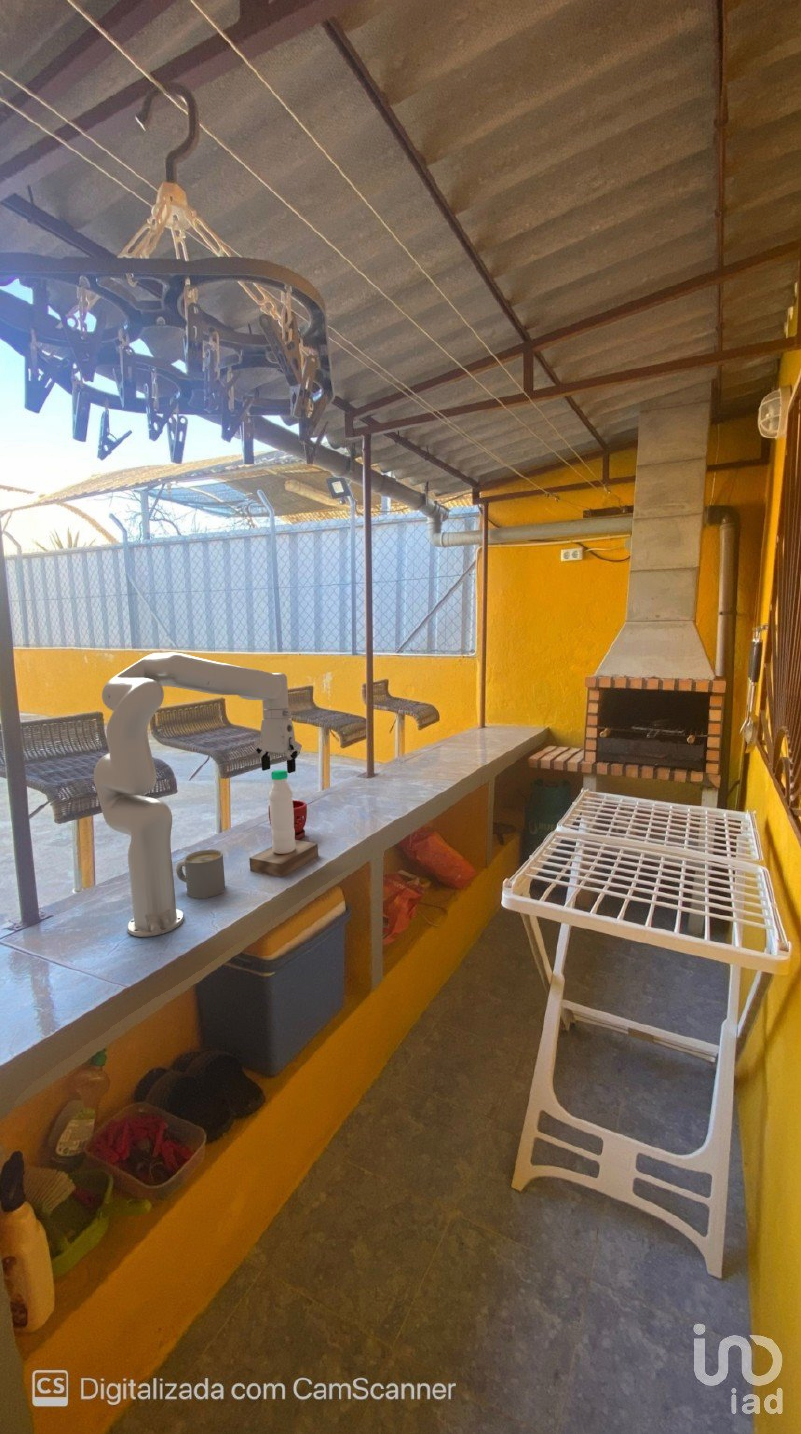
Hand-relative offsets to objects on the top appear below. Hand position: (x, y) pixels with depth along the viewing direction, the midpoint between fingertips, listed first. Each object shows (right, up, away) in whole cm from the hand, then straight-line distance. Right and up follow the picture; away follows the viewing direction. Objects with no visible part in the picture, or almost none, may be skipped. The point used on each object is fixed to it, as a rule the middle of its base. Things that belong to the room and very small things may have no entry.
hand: (278, 771), depth 169 cm
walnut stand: (+1, -29, +4) cm, 29 cm away
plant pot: (-2, -26, +28) cm, 38 cm away
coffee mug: (-19, -32, -13) cm, 39 cm away
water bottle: (+1, -25, +3) cm, 25 cm away
